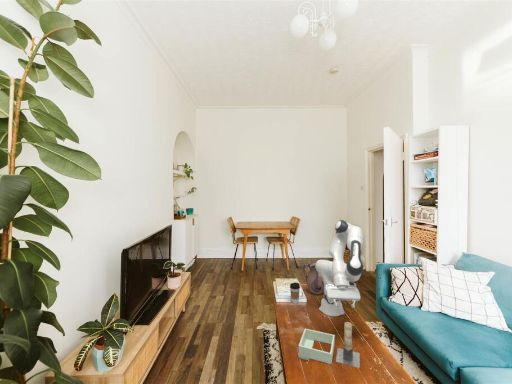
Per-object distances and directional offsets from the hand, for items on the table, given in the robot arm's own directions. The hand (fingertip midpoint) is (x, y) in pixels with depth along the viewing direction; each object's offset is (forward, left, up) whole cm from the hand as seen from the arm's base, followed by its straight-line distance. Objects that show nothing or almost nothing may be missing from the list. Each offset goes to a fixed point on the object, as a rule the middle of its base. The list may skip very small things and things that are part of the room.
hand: (345, 307), depth 148 cm
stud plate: (+12, +2, -24) cm, 27 cm away
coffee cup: (-43, -42, -24) cm, 64 cm away
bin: (+12, -15, -24) cm, 30 cm away
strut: (+12, +2, -22) cm, 25 cm away
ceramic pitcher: (-68, -30, -24) cm, 78 cm away
